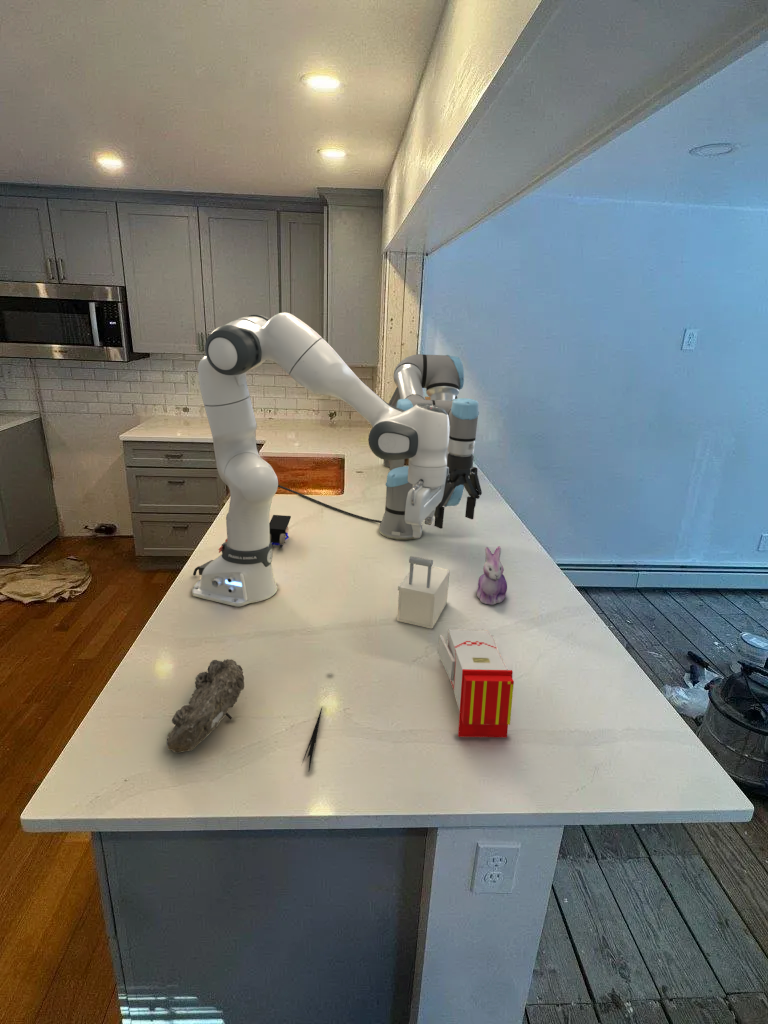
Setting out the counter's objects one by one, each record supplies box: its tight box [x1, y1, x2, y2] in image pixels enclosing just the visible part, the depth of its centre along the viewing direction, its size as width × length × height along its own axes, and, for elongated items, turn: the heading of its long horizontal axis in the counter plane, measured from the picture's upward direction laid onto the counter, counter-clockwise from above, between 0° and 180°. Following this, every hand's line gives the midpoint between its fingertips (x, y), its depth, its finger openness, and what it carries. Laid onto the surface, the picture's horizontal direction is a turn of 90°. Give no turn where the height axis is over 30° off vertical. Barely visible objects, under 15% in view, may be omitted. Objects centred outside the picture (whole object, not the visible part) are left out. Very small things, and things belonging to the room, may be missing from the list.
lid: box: [397, 555, 451, 598], centre depth 144 cm, size 15×9×9 cm, turn 159°
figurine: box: [476, 545, 508, 605], centre depth 155 cm, size 9×10×15 cm
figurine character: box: [269, 514, 292, 550], centre depth 187 cm, size 7×8×15 cm
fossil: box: [166, 658, 245, 754], centre depth 106 cm, size 22×10×15 cm
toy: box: [437, 628, 515, 738], centre depth 117 cm, size 12×13×30 cm
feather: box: [301, 673, 332, 771], centre depth 108 cm, size 2×28×2 cm
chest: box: [396, 574, 450, 630], centre depth 148 cm, size 14×9×9 cm, turn 160°
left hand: (422, 530), depth 136 cm, fingers open, 8 cm apart
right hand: (454, 522), depth 170 cm, fingers open, 13 cm apart
